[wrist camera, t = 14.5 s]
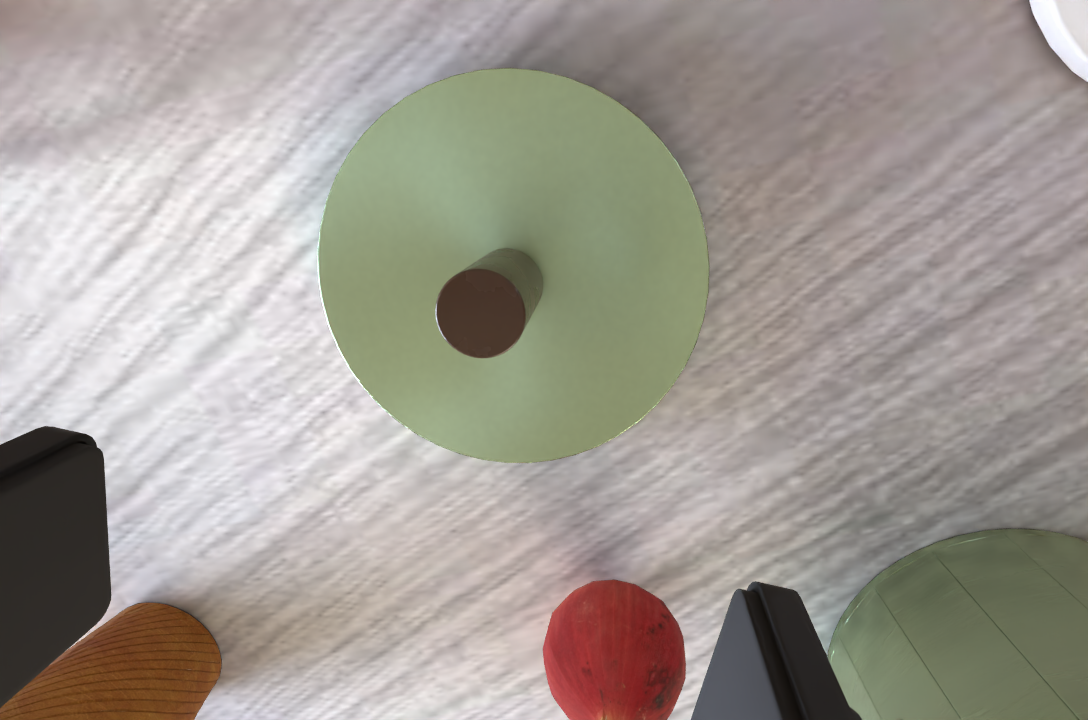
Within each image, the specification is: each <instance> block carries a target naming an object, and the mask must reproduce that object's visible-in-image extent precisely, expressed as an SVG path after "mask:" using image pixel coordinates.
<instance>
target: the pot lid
mask: <svg viewBox="0 0 1088 720" xmlns="http://www.w3.org/2000/svg"><path fill="white" fill-rule="evenodd" d="M318 278H319V285H320V292H321V299H322V303H323V307H324V311H325V314H326V318H327V322H328V325H329V328H330V330H331V332H332V335H333V337H334V340H335V342H336V345H337V347H338V349H339V351H340V353H341V354H342V356H343V358H344V360H345V362H346V363H347V365H348V367H349V369H350V370H351V371H352V373H353V374H354V376H355V377H356V378H357V380H358V381H359V383H360V384H361V385H362V387H363V388H364V389H365V390H366V391H367V392H368V394H369V395H370V396H371V397H372V398H373V399H374V400H375V401H376V402H377V403H378V404H379V406H381V407H382V408H383V409H384V410H385V411H386V412H387V413H389V414H390V415H391V416H392V417H393V418H394V419H396V420H397V421H398V422H399V423H401V424H402V425H404V426H405V427H407V428H408V429H410V430H411V431H413V432H414V433H416V434H417V435H419V436H421V437H423V438H425V439H427V440H428V441H430V442H432V443H434V444H436V445H438V446H441V447H443V448H446V449H448V450H451V451H454V452H456V453H459V454H462V455H466V456H470V457H474V458H478V459H482V460H489V461H497V462H505V463H533V462H542V461H551V460H556V459H560V458H564V457H569V456H573V455H576V454H579V453H582V452H584V451H587V450H590V449H592V448H595V447H598V446H600V445H602V444H603V443H605V442H607V441H609V440H611V439H613V438H615V437H617V436H619V435H620V434H622V433H623V432H624V431H626V430H627V429H629V428H630V427H632V426H633V425H634V424H636V423H637V422H639V421H640V420H641V419H642V418H643V417H644V416H645V415H646V414H647V413H648V412H650V411H651V410H652V409H653V408H654V407H655V406H656V405H657V404H658V403H659V402H660V400H661V399H662V398H663V397H664V396H665V394H666V393H667V392H668V391H669V390H670V389H671V387H672V386H673V384H674V383H675V381H676V380H677V378H678V377H679V375H680V374H681V372H682V370H683V369H684V367H685V366H686V364H687V361H688V359H689V357H690V355H691V353H692V351H693V349H694V347H695V344H696V342H697V339H698V336H699V333H700V329H701V326H702V323H703V320H704V315H705V310H706V304H707V298H708V291H709V256H708V245H707V237H706V233H705V229H704V225H703V220H702V216H701V212H700V210H699V207H698V204H697V202H696V199H695V196H694V194H693V191H692V189H691V186H690V184H689V183H688V181H687V179H686V177H685V175H684V173H683V172H682V170H681V168H680V166H679V164H678V162H677V161H676V160H675V158H674V157H673V156H672V154H671V153H670V152H669V150H668V149H667V148H666V146H665V145H664V144H663V142H662V141H661V139H660V138H659V137H658V136H657V135H656V134H655V133H654V132H653V131H652V130H651V129H650V128H649V127H648V126H647V125H646V124H645V123H644V122H643V121H642V120H641V119H640V118H639V117H637V116H636V115H635V114H633V113H632V112H631V111H629V110H628V109H627V108H626V107H624V106H623V105H622V104H620V103H619V102H618V101H616V100H614V99H612V98H611V97H609V96H607V95H605V94H604V93H602V92H600V91H598V90H596V89H595V88H593V87H591V86H588V85H585V84H583V83H580V82H578V81H575V80H573V79H570V78H568V77H564V76H560V75H556V74H552V73H547V72H543V71H539V70H528V69H516V68H501V69H484V70H478V71H473V72H468V73H463V74H459V75H454V76H451V77H449V78H446V79H443V80H441V81H438V82H435V83H432V84H430V85H427V86H426V87H424V88H422V89H420V90H418V91H416V92H415V93H413V94H411V95H409V96H407V97H405V98H404V99H403V100H401V101H400V102H399V103H397V104H396V105H394V106H393V107H392V108H390V109H389V110H388V111H386V112H385V113H384V114H383V115H382V116H381V117H380V118H379V119H378V120H377V121H376V122H375V123H374V124H373V125H372V126H371V127H370V128H369V129H368V130H367V131H366V132H365V133H364V134H363V135H362V137H361V138H360V139H359V141H358V142H357V143H356V144H355V146H354V147H353V148H352V150H351V151H350V152H349V154H348V156H347V157H346V159H345V161H344V163H343V165H342V166H341V168H340V170H339V172H338V174H337V175H336V177H335V180H334V183H333V185H332V188H331V190H330V193H329V195H328V198H327V201H326V205H325V209H324V213H323V217H322V221H321V225H320V234H319V243H318Z"/></svg>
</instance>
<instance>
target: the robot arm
mask: <svg viewBox="0 0 1088 720" xmlns="http://www.w3.org/2000/svg"><path fill="white" fill-rule="evenodd" d="M1029 1H1030V5H1031V9H1032V12H1033V15H1034V17H1035V19H1036V21H1037V23H1038V25H1039V27H1040V29H1041V31H1042V32H1043V34H1044V36H1045V38H1046V40H1047V42H1048V44H1049V46H1050V47H1051V48H1052V49H1053V50H1054V51H1055V53H1056V54H1057V55H1058V56H1059V57H1060V58H1061V59H1062V61H1063V62H1064V63H1065V64H1066V65H1067V66H1068V67H1069V68H1070V70H1071V71H1072V72H1074V73H1075V74H1077V75H1078V76H1080V77H1081V78H1082V79H1084V80H1085V81H1087V82H1088V0H1029ZM110 601H111V582H110V564H109V545H108V527H107V508H106V490H105V472H104V457H103V453H102V451H101V450H100V449H99V448H97V446H96V442H95V441H94V439H93V438H92V437H91V436H89V435H87V434H83V433H78V432H74V431H69V430H65V429H60V428H56V427H48V426H44V427H41V428H37V429H35V430H33V431H30V432H28V433H26V434H24V435H21V436H19V437H17V438H15V439H12V440H10V441H8V442H6V443H3V444H1V445H0V708H1V707H2V706H3V705H4V704H5V703H7V702H8V701H9V700H10V699H11V698H12V697H13V696H15V695H16V694H17V693H18V692H19V691H20V690H21V689H23V688H24V687H25V686H26V685H27V684H28V683H29V682H31V681H32V680H33V679H34V678H35V677H36V676H37V675H39V674H40V673H41V672H42V671H43V670H44V669H45V668H47V667H48V666H49V665H50V664H51V663H52V662H53V661H55V660H56V659H57V658H58V657H59V656H60V655H61V654H63V653H64V652H65V651H66V650H67V649H68V648H69V647H71V646H72V645H73V644H74V643H75V642H76V641H77V640H79V639H80V638H81V637H82V636H83V635H84V634H85V633H87V632H88V631H89V630H90V629H91V628H92V627H93V626H95V625H96V624H97V623H98V622H99V621H100V620H101V618H102V617H103V616H104V614H105V613H106V611H107V609H108V607H109V604H110ZM691 720H862V719H861V717H860V715H859V714H858V713H857V712H856V711H855V710H853V709H852V708H851V707H849V705H848V702H847V700H846V698H845V696H844V694H843V691H842V689H841V687H840V685H839V682H838V680H837V678H836V676H835V673H834V671H833V669H832V667H831V664H830V662H829V660H828V658H827V656H826V653H825V651H824V649H823V647H822V644H821V642H820V640H819V638H818V635H817V633H816V631H815V629H814V626H813V624H812V622H811V620H810V618H809V615H808V613H807V611H806V609H805V606H804V604H803V602H802V600H801V597H800V596H799V594H798V593H797V592H796V591H794V590H792V589H787V588H783V587H778V586H773V585H769V584H764V583H760V582H752V583H751V584H750V585H749V587H748V589H747V591H746V590H742V589H737V590H736V591H735V592H734V594H733V597H732V599H731V602H730V605H729V608H728V611H727V614H726V617H725V620H724V623H723V626H722V629H721V632H720V635H719V638H718V641H717V644H716V647H715V650H714V653H713V656H712V659H711V662H710V664H709V667H708V670H707V673H706V676H705V679H704V682H703V685H702V688H701V691H700V694H699V697H698V700H697V703H696V706H695V709H694V712H693V715H692V718H691Z"/></svg>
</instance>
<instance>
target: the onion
mask: <svg viewBox="0 0 1088 720" xmlns="http://www.w3.org/2000/svg"><path fill="white" fill-rule="evenodd" d="M543 656H544V665H545V670H546V675H547V679H548V684H549V687H550V690H551V693H552V695H553V697H554V699H555V700H556V702H557V703H558V705H559V706H560V707H561V709H562V710H563V711H564V713H565V714H566V715H567V717H568V718H569V719H570V720H667V719H668V717H669V716H670V714H671V713H672V711H673V708H674V706H675V704H676V702H677V699H678V697H679V695H680V692H681V690H682V687H683V684H684V681H685V671H686V661H685V651H684V640H683V635H682V633H681V630H680V627H679V625H678V623H677V621H676V620H675V618H674V617H673V615H672V614H671V612H670V611H669V610H668V608H667V607H666V605H665V604H664V602H663V601H662V600H660V599H659V598H657V597H656V596H654V595H653V594H651V593H649V592H647V591H646V590H644V589H642V588H640V587H639V586H637V585H635V584H631V583H627V582H622V581H618V580H604V581H593V582H591V583H589V584H587V585H584V586H582V587H580V588H578V589H576V590H574V591H573V592H572V593H571V594H570V595H569V596H568V597H567V598H566V599H565V600H564V601H563V602H562V603H561V604H560V605H559V606H558V607H557V608H556V610H555V611H554V612H553V613H552V616H551V620H550V623H549V626H548V630H547V634H546V638H545V642H544V646H543Z"/></svg>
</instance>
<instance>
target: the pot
mask: <svg viewBox="0 0 1088 720" xmlns="http://www.w3.org/2000/svg"><path fill="white" fill-rule="evenodd" d="M827 658H828V660H829V662H830V664H831V667H832V669H833V671H834V673H835V676H836V678H837V680H838V682H839V685H840V687H841V689H842V691H843V694H844V696H845V698H846V700H847V702H848V705H849V707H851V708H852V709H853V710H855V711H856V712H857V713H858V714H859V715H860V717H861V719H862V720H1088V542H1087V541H1085V540H1082V539H1079V538H1077V537H1073V536H1069V535H1064V534H1060V533H1056V532H1050V531H1043V530H1035V529H997V530H985V531H979V532H974V533H969V534H964V535H959V536H956V537H952V538H949V539H946V540H942V541H939V542H936V543H934V544H931V545H929V546H927V547H924V548H922V549H919V550H917V551H915V552H913V553H911V554H910V555H908V556H906V557H904V558H902V559H901V560H899V561H897V562H895V563H894V564H893V565H891V566H890V567H888V568H887V569H885V570H884V571H883V572H881V573H880V574H878V575H877V576H876V577H875V578H874V579H873V580H872V581H871V582H870V583H868V584H867V585H866V586H865V587H864V588H863V589H862V590H861V591H860V593H859V594H858V595H857V596H856V597H855V598H854V600H853V601H852V602H851V603H850V605H849V606H848V608H847V609H846V611H845V612H844V614H843V615H842V617H841V618H840V620H839V623H838V625H837V627H836V629H835V631H834V633H833V636H832V640H831V643H830V647H829V650H828V657H827Z"/></svg>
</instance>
